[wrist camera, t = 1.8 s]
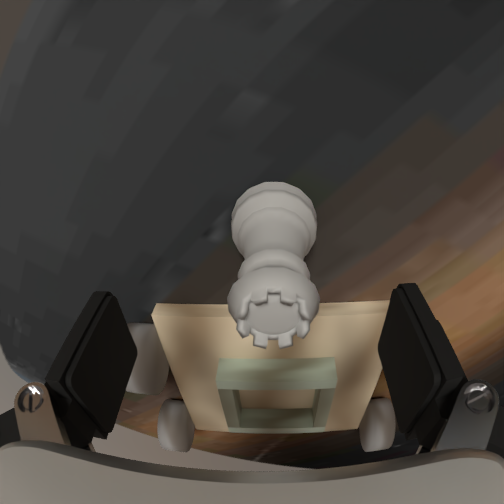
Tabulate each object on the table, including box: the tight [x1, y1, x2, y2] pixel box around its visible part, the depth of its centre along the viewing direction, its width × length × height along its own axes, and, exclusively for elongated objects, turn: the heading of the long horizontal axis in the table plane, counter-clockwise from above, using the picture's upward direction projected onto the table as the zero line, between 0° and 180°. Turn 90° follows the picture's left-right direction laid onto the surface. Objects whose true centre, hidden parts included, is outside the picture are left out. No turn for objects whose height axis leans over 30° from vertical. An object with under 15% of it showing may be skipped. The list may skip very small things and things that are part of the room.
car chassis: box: [126, 300, 395, 452], centre depth 22 cm, size 20×16×5 cm
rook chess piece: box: [227, 182, 320, 349], centre depth 14 cm, size 4×4×8 cm
